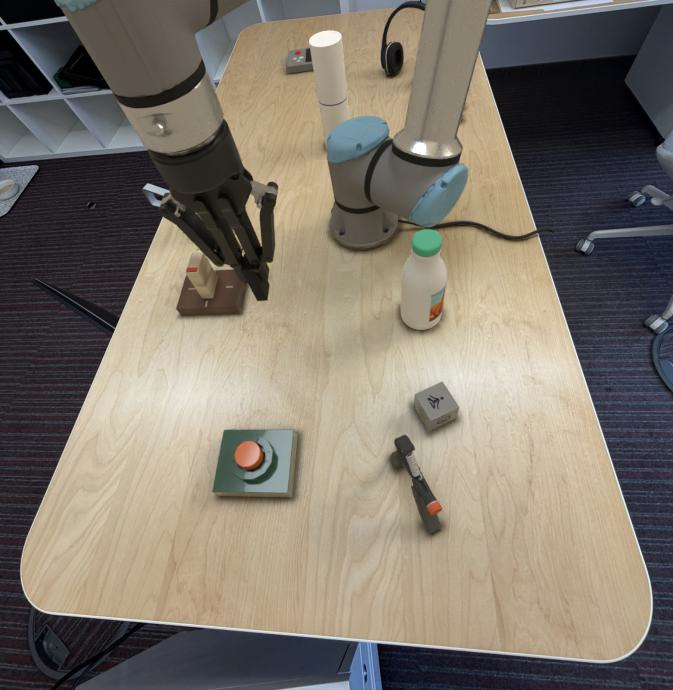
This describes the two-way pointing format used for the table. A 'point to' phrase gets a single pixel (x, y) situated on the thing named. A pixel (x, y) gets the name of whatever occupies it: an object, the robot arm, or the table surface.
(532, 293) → the table surface
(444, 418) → the dice cube
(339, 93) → the cylindrical container
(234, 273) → the panel
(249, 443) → the orange button cap
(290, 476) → the button housing
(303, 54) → the electronic device
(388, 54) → the headphones
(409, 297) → the milk bottle
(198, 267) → the knob
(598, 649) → the table surface
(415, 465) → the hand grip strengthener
